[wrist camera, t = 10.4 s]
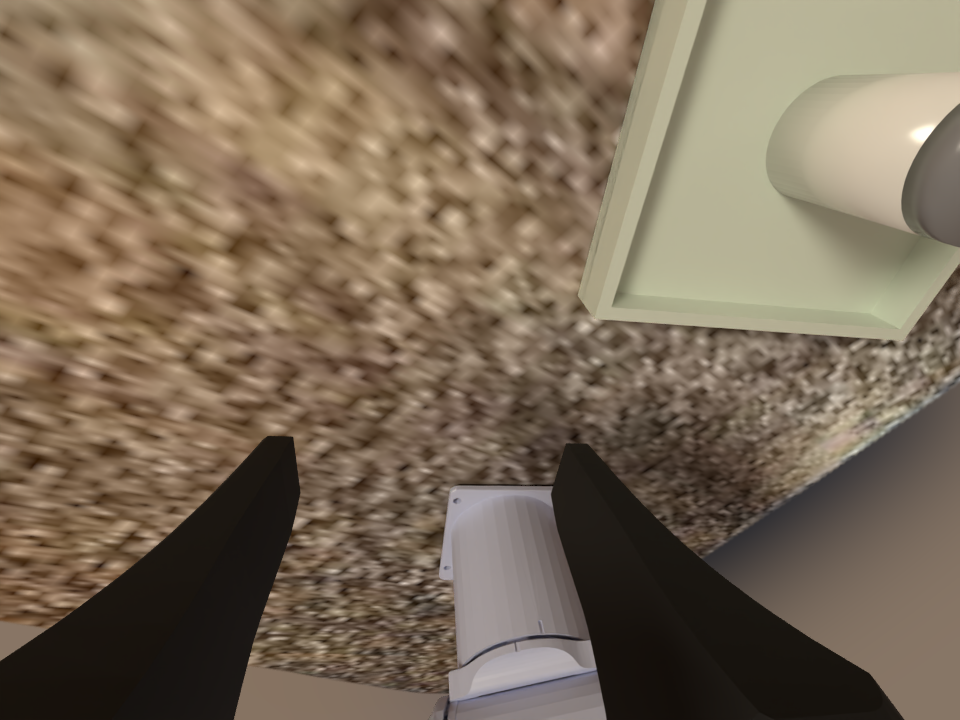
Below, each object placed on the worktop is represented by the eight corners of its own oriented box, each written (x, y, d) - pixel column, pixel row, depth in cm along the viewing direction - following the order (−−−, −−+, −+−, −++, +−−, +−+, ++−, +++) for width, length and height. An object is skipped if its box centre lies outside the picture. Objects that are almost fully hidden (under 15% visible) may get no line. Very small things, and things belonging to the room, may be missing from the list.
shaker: (843, 198, 19) (1033, 248, 13) (749, 196, 18) (903, 248, 13) (898, 77, 17) (1160, 72, 11) (793, 72, 16) (1006, 63, 10)
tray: (860, 317, 23) (903, 340, 21) (577, 295, 21) (594, 319, 19) (1127, -94, 15) (1239, -123, 13) (710, -210, 13) (766, -269, 11)
